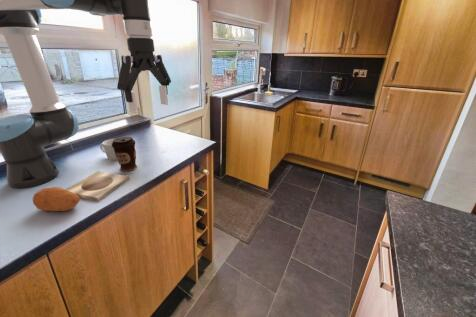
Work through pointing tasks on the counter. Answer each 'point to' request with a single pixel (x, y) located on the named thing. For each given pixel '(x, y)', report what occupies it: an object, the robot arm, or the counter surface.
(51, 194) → the potato
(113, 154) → the cup
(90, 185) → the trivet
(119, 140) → the coffee cup
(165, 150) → the counter surface
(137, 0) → the robot arm
